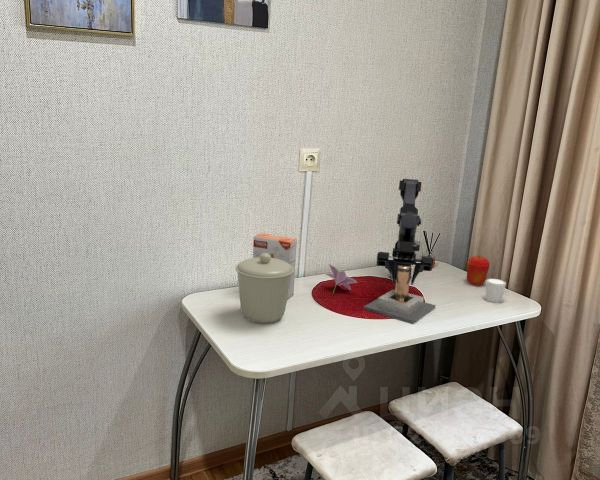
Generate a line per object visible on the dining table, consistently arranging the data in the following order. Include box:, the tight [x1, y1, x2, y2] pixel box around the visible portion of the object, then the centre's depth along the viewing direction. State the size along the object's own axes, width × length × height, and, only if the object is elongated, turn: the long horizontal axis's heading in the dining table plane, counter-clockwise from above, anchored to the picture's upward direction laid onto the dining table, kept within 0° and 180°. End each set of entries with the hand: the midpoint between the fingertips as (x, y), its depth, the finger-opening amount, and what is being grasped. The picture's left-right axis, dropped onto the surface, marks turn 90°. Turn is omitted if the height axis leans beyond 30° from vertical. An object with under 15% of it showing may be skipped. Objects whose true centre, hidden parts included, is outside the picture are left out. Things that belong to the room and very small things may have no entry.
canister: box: [234, 253, 294, 324], centre depth 179 cm, size 18×18×21 cm
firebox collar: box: [363, 288, 436, 325], centre depth 195 cm, size 18×18×4 cm
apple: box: [466, 255, 490, 286], centre depth 224 cm, size 9×8×12 cm
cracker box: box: [252, 232, 298, 301], centre depth 199 cm, size 14×6×21 cm, turn 68°
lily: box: [325, 263, 358, 294], centre depth 208 cm, size 12×12×10 cm
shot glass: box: [484, 278, 507, 303], centre depth 208 cm, size 7×7×7 cm
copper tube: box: [394, 264, 412, 303], centre depth 193 cm, size 4×4×14 cm
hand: (402, 283), depth 191 cm, fingers open, 6 cm apart
